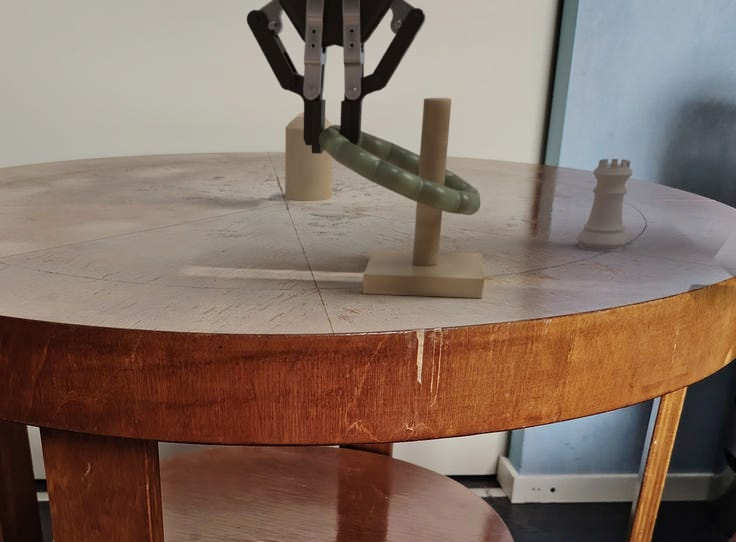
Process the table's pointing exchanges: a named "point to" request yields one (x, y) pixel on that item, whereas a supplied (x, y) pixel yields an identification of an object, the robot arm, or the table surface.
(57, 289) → the table surface
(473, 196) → the hoop
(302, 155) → the candle
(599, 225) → the rook chess piece
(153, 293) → the table surface
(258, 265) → the table surface
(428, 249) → the post
